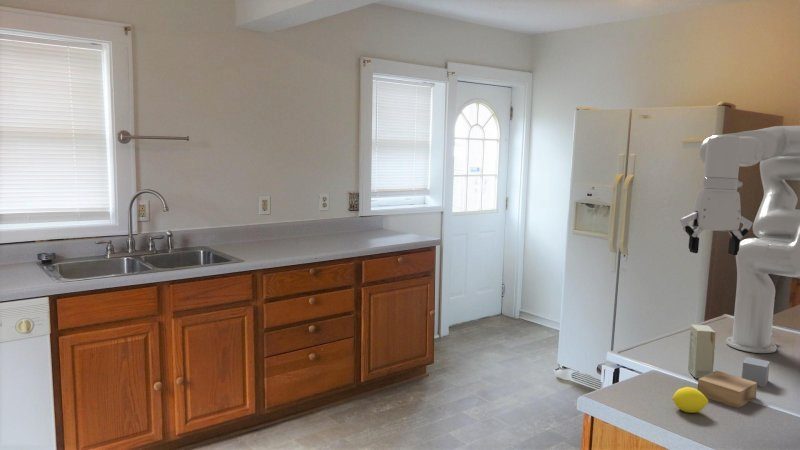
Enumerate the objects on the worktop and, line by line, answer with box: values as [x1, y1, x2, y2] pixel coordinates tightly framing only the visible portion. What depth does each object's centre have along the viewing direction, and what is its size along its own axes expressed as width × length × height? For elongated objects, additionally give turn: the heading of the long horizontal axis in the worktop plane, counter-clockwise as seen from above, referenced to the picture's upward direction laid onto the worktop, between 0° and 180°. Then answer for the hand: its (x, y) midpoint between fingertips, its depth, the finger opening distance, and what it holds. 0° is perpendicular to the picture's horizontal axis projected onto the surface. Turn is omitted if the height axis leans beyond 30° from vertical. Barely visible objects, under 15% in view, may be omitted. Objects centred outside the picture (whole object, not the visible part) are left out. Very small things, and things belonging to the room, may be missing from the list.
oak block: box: [697, 370, 758, 409], centre depth 134 cm, size 9×9×4 cm
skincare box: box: [687, 324, 717, 379], centre depth 146 cm, size 6×4×12 cm
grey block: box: [741, 356, 771, 388], centre depth 143 cm, size 5×5×5 cm
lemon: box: [672, 386, 709, 414], centre depth 126 cm, size 7×5×5 cm
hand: (713, 253), depth 147 cm, fingers open, 9 cm apart
